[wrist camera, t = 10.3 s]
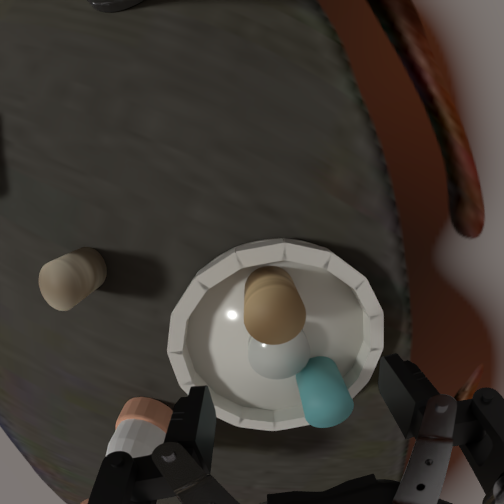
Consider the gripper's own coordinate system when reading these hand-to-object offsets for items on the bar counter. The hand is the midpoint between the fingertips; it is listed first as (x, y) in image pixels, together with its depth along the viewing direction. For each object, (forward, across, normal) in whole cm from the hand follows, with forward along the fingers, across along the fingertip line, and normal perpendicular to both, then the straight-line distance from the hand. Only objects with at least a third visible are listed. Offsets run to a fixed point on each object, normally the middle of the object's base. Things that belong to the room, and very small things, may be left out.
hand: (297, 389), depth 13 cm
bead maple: (+16, +18, -4) cm, 24 cm away
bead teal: (+14, -3, +10) cm, 18 cm away
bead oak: (+14, 0, 0) cm, 14 cm away
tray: (+16, 0, +6) cm, 17 cm away
